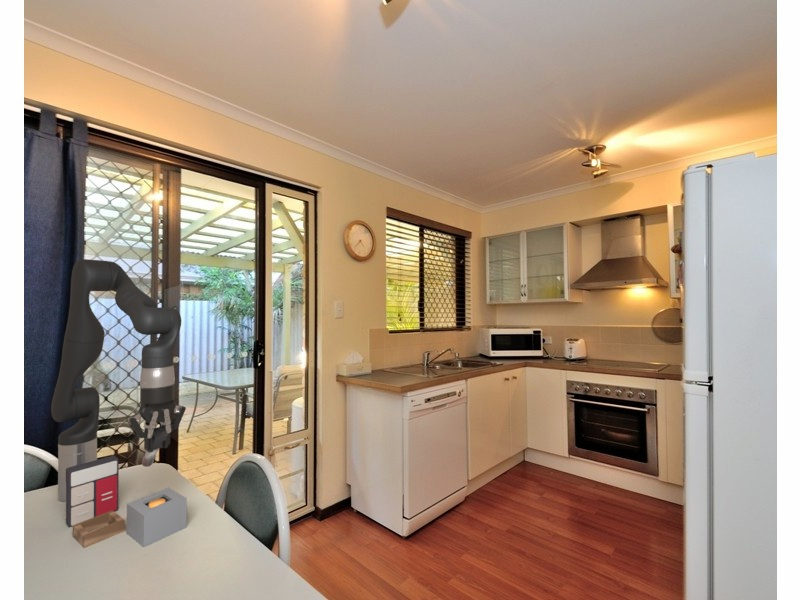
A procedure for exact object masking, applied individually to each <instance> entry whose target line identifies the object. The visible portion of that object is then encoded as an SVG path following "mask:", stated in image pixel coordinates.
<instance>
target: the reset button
mask: <svg viewBox="0 0 800 600" xmlns="http://www.w3.org/2000/svg"><path fill="white" fill-rule="evenodd" d="M162 503H165V499H164V498H159V499H155V500H152V501H151V502H150V503H149V508H153V507H155V506H157V505H160V504H162Z"/></svg>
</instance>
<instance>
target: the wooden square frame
mask: <svg viewBox="0 0 800 600" xmlns="http://www.w3.org/2000/svg"><path fill="white" fill-rule="evenodd" d="M125 527H126V520H125V519H124V518H123V517H121V516H120V515H119V514H118V513H116V511H113V510H111V511H109V512H106V513H104V514H101V515H98V516H96V517H93V518H91V519H88V520H85V521H83V522H80V523H78V524H75V525H73V526H72V537H73V539H75V541H76V542H77V543H78V544H79V545H80V546H81V547H82V548H83V549H85V548H88V547H91V546H93V545H95V544H98V543H100V542H103V541H105V540H108V539H110V538H112V537H115V536H117V535H118V534H122V533H124V532H126V528H125Z"/></svg>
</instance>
